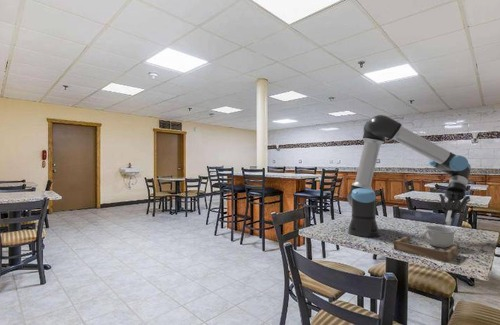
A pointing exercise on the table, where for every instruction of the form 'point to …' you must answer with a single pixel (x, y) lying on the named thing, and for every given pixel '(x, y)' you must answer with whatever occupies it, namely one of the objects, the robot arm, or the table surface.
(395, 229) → the table surface
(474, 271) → the table surface
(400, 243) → the wooden tray
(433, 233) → the teacup
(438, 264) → the table surface
